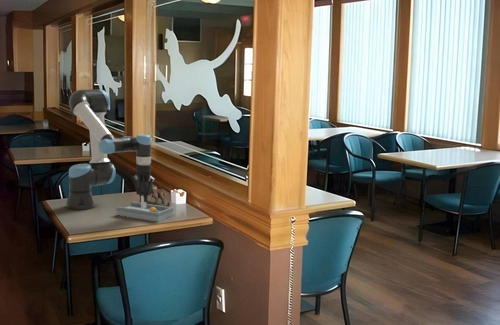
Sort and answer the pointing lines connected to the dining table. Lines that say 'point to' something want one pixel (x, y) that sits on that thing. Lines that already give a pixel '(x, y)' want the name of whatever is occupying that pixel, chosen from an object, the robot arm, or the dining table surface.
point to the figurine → (158, 196)
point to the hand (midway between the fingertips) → (143, 207)
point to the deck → (145, 212)
